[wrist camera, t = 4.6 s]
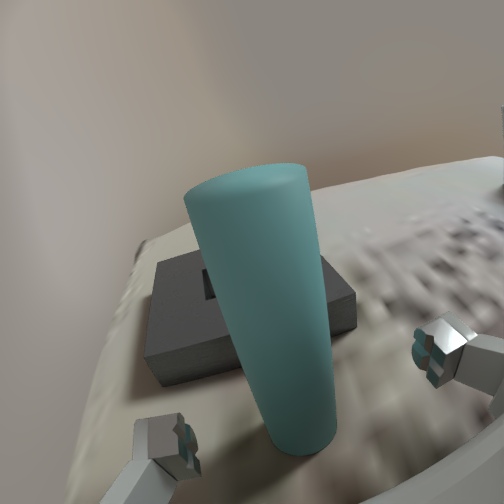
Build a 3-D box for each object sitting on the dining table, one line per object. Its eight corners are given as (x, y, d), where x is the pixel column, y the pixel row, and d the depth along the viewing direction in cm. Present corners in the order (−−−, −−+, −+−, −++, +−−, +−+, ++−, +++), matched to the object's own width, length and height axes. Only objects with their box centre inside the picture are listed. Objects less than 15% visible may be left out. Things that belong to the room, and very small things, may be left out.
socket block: (295, 248, 33) (290, 222, 32) (356, 327, 20) (355, 292, 19) (167, 287, 32) (157, 262, 30) (162, 387, 19) (143, 357, 18)
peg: (323, 393, 16) (284, 158, 11) (347, 440, 13) (327, 175, 7) (263, 413, 16) (184, 185, 10) (279, 464, 13) (182, 216, 7)
